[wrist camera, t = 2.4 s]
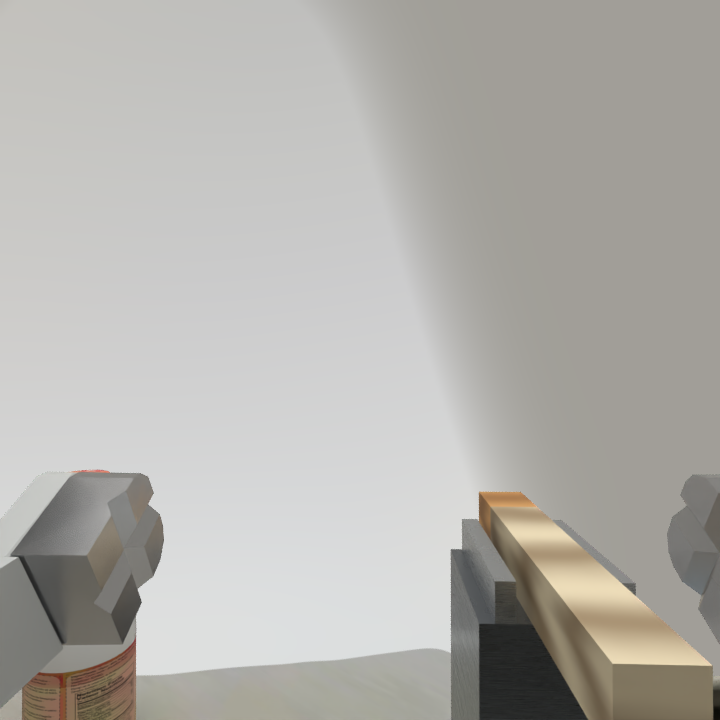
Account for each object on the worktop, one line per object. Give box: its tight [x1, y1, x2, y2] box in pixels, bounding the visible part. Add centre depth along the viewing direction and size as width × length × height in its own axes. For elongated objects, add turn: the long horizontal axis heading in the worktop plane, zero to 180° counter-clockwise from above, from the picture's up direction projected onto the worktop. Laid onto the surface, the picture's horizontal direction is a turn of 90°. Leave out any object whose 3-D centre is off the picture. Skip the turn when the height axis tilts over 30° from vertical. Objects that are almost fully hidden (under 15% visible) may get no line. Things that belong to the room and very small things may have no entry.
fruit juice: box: [22, 470, 136, 720], centre depth 49 cm, size 9×9×28 cm
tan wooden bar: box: [479, 492, 713, 720], centre depth 27 cm, size 22×3×3 cm, turn 178°
